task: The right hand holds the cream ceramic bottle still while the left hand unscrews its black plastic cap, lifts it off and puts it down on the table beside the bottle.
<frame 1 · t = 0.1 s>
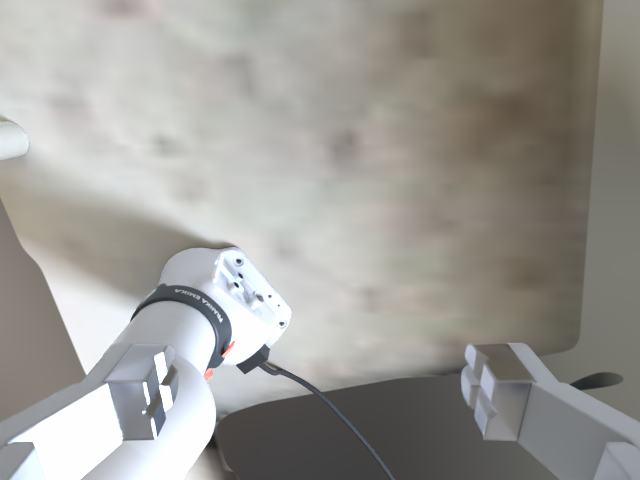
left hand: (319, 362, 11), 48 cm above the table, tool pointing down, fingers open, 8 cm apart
bottle: (11, 139, 55), on the table
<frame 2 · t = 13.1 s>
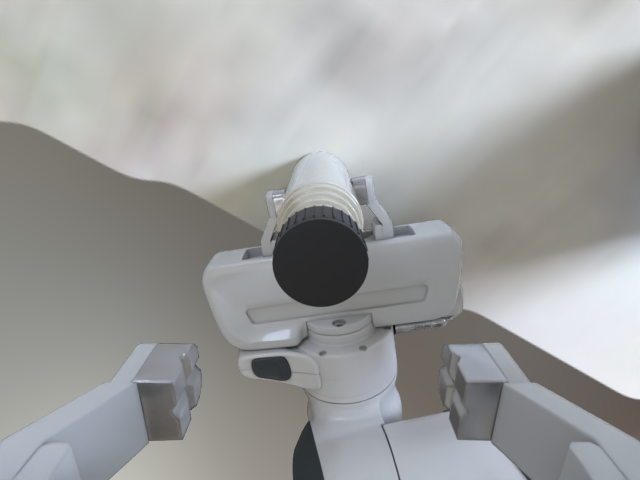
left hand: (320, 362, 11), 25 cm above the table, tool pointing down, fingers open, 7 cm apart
right hand: (317, 184, 28), fingers closed on bottle, 5 cm apart
cap: (320, 262, 17), point 18 cm above the table, screwed on, not yet turned
bottle: (320, 180, 34), on the table, touching right hand
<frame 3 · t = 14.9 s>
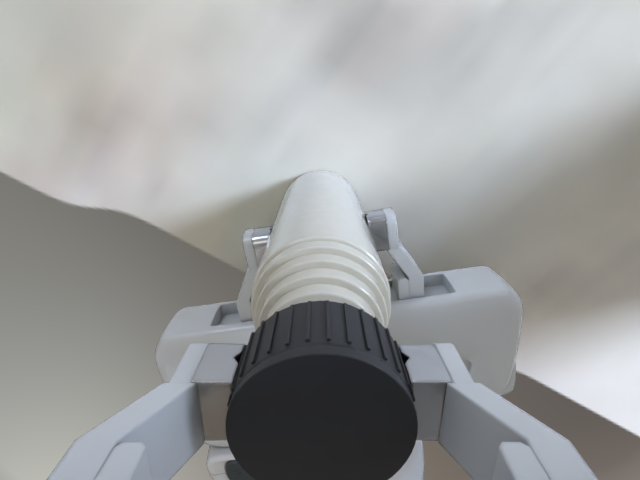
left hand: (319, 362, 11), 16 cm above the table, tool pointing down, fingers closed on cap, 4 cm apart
right hand: (317, 221, 20), fingers closed on bottle, 5 cm apart
cap: (321, 423, 9), point 18 cm above the table, screwed on, not yet turned, touching left hand
bottle: (320, 208, 26), on the table, touching right hand
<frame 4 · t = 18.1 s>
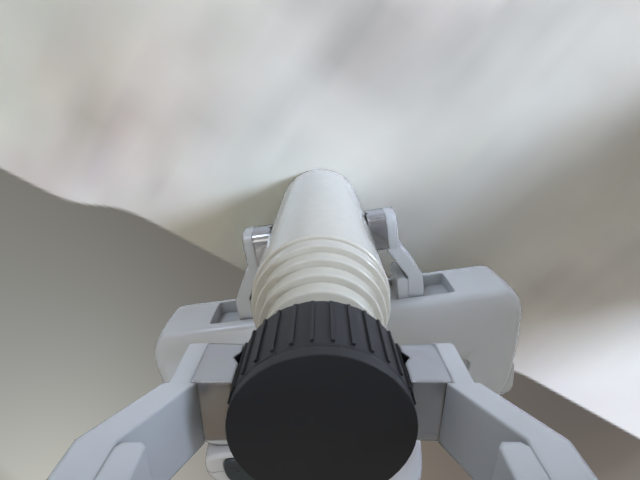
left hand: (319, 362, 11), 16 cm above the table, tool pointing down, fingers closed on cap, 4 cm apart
right hand: (317, 220, 20), fingers closed on bottle, 5 cm apart
cap: (321, 423, 9), point 18 cm above the table, turned 82° so far, risen 0.1 cm, still on its thread, touching left hand
bottle: (320, 206, 26), on the table, touching right hand
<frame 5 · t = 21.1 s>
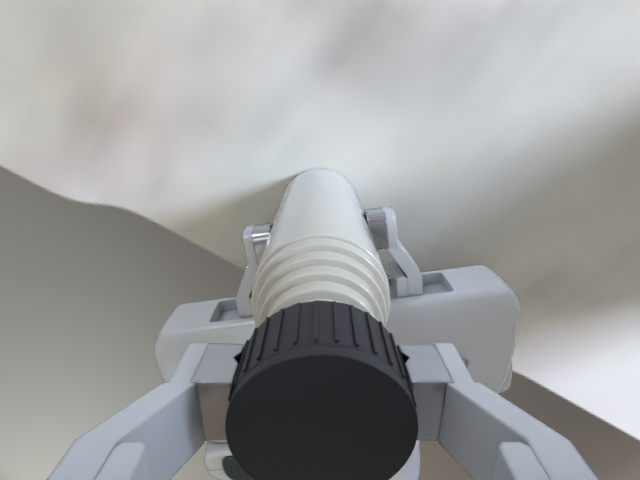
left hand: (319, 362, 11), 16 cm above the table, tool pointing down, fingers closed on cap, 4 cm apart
right hand: (316, 219, 20), fingers closed on bottle, 5 cm apart
cap: (321, 423, 9), point 18 cm above the table, turned 164° so far, risen 0.2 cm, still on its thread, touching left hand
bottle: (320, 206, 26), on the table, touching right hand
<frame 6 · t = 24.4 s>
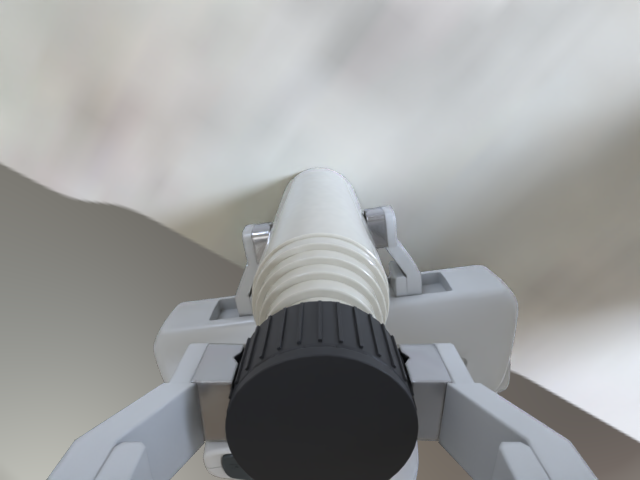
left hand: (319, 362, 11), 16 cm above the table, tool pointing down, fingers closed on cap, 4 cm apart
right hand: (316, 218, 20), fingers closed on bottle, 5 cm apart
cap: (321, 423, 9), point 18 cm above the table, turned 246° so far, risen 0.3 cm, still on its thread, touching left hand
bottle: (319, 205, 26), on the table, touching right hand
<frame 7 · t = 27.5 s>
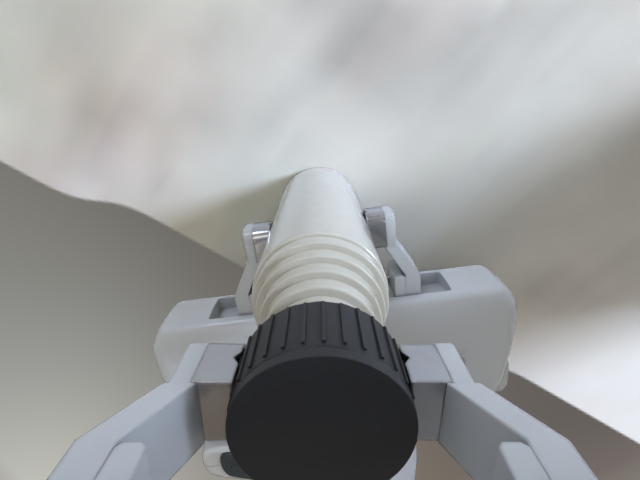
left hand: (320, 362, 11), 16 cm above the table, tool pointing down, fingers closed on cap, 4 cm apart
right hand: (316, 217, 20), fingers closed on bottle, 5 cm apart
cap: (321, 424, 9), point 18 cm above the table, turned 328° so far, risen 0.4 cm, still on its thread, touching left hand
bottle: (319, 204, 26), on the table, touching right hand
when the left hand's fingers open (2 cm above the table, at t = 35.2 s): cap drops 2 cm, point 2 cm above the table.
when the right hand's fingers open (6 cm above the table, at t = 36.3 s): bottle stays where it is, on the table.
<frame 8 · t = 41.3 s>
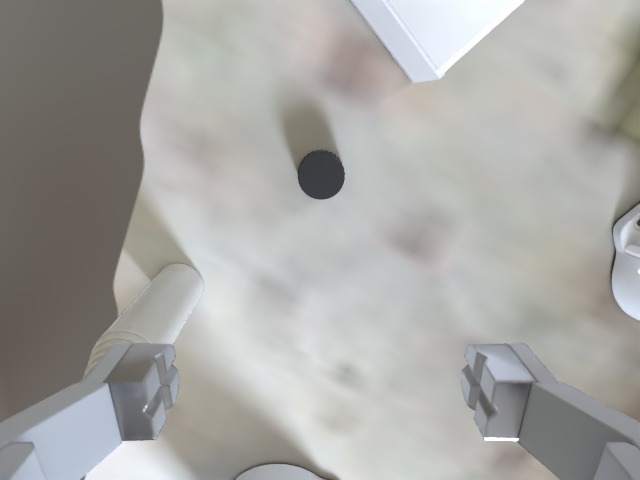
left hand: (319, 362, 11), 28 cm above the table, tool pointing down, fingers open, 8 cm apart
cap: (321, 176, 35), point 2 cm above the table, off its thread
bottle: (180, 284, 42), on the table
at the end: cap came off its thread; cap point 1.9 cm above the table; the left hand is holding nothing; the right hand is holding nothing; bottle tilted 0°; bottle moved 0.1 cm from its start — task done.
